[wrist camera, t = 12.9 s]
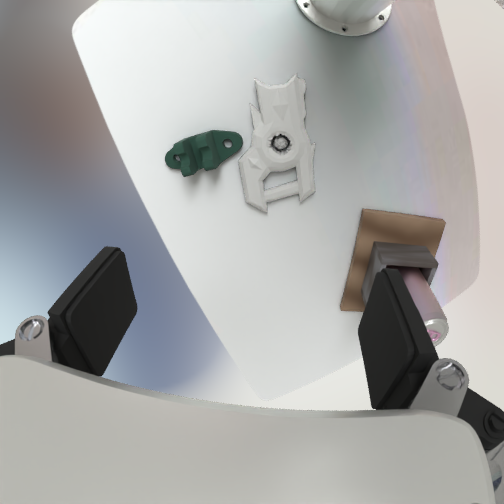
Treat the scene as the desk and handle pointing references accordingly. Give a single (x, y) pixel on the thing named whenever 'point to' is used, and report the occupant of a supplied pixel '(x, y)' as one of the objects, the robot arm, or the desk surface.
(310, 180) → the grey mechanical plate
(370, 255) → the can dock
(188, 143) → the mount
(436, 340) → the beverage can
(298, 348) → the desk surface
